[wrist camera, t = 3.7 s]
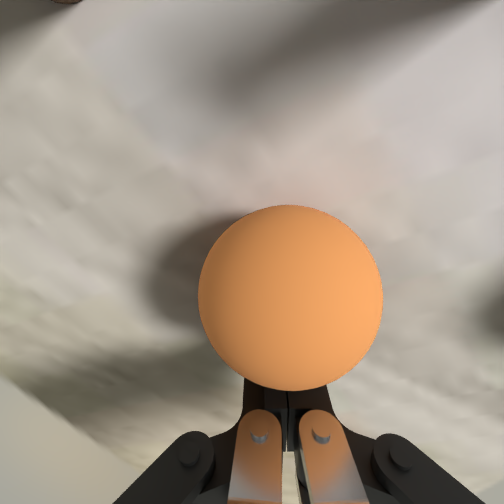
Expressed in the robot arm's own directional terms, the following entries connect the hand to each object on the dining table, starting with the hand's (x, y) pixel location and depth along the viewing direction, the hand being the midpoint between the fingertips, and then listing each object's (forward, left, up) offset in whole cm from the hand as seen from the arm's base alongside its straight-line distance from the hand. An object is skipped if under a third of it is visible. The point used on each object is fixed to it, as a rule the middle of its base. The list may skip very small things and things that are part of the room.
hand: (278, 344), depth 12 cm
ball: (-4, 0, +2) cm, 4 cm away
